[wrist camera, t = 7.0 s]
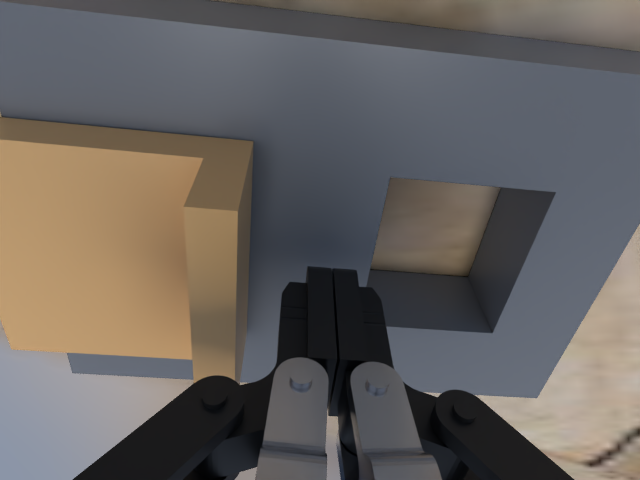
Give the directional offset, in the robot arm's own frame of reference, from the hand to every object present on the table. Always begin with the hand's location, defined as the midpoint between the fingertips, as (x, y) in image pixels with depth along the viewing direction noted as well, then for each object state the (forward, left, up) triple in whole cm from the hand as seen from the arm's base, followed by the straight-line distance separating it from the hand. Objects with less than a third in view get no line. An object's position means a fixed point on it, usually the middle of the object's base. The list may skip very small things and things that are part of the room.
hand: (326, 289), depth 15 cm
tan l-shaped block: (0, -7, -2) cm, 7 cm away
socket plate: (0, 0, -6) cm, 6 cm away
